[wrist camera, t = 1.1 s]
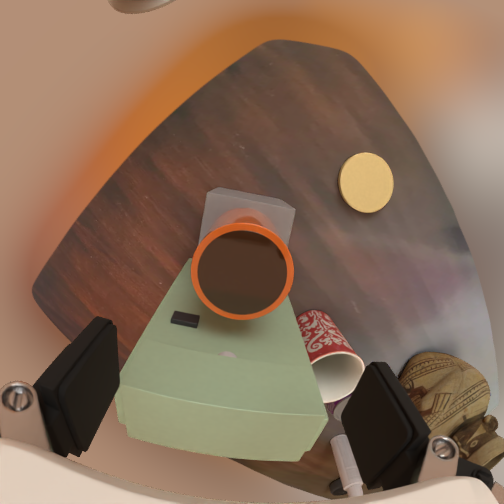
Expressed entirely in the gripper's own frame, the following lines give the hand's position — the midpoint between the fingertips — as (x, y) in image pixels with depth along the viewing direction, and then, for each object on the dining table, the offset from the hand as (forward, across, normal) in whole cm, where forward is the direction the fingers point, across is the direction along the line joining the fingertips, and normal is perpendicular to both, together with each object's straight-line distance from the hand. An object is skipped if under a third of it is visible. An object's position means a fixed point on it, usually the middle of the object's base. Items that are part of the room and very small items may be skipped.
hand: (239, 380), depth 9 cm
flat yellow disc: (+32, -16, -10) cm, 38 cm away
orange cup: (+20, 0, 0) cm, 20 cm away
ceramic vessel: (+33, -46, +25) cm, 62 cm away
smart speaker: (+33, -45, +72) cm, 91 cm away
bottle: (+33, -32, +46) cm, 65 cm away
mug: (+33, -13, +16) cm, 38 cm away
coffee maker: (+32, 0, +3) cm, 32 cm away
